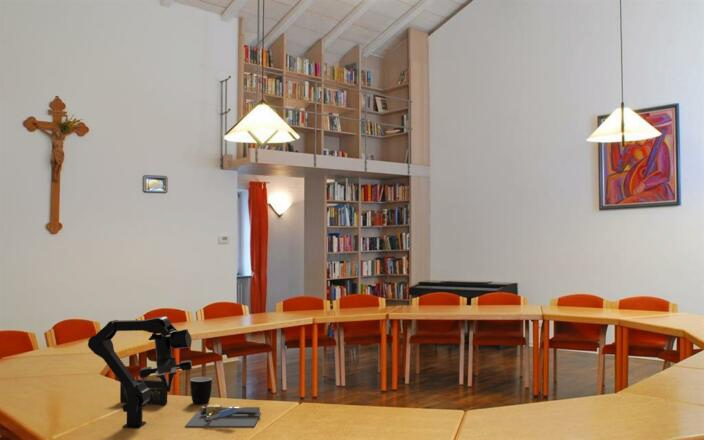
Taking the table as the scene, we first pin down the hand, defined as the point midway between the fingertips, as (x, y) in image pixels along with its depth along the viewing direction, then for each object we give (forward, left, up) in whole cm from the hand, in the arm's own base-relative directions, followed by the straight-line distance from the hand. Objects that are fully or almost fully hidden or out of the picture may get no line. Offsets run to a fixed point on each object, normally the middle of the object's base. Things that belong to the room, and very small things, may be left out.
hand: (168, 391), depth 234 cm
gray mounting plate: (+10, -19, -13) cm, 25 cm away
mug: (+32, -1, -13) cm, 34 cm away
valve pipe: (+10, -20, -13) cm, 26 cm away
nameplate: (+30, +23, -13) cm, 40 cm away
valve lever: (+2, -14, -11) cm, 18 cm away
